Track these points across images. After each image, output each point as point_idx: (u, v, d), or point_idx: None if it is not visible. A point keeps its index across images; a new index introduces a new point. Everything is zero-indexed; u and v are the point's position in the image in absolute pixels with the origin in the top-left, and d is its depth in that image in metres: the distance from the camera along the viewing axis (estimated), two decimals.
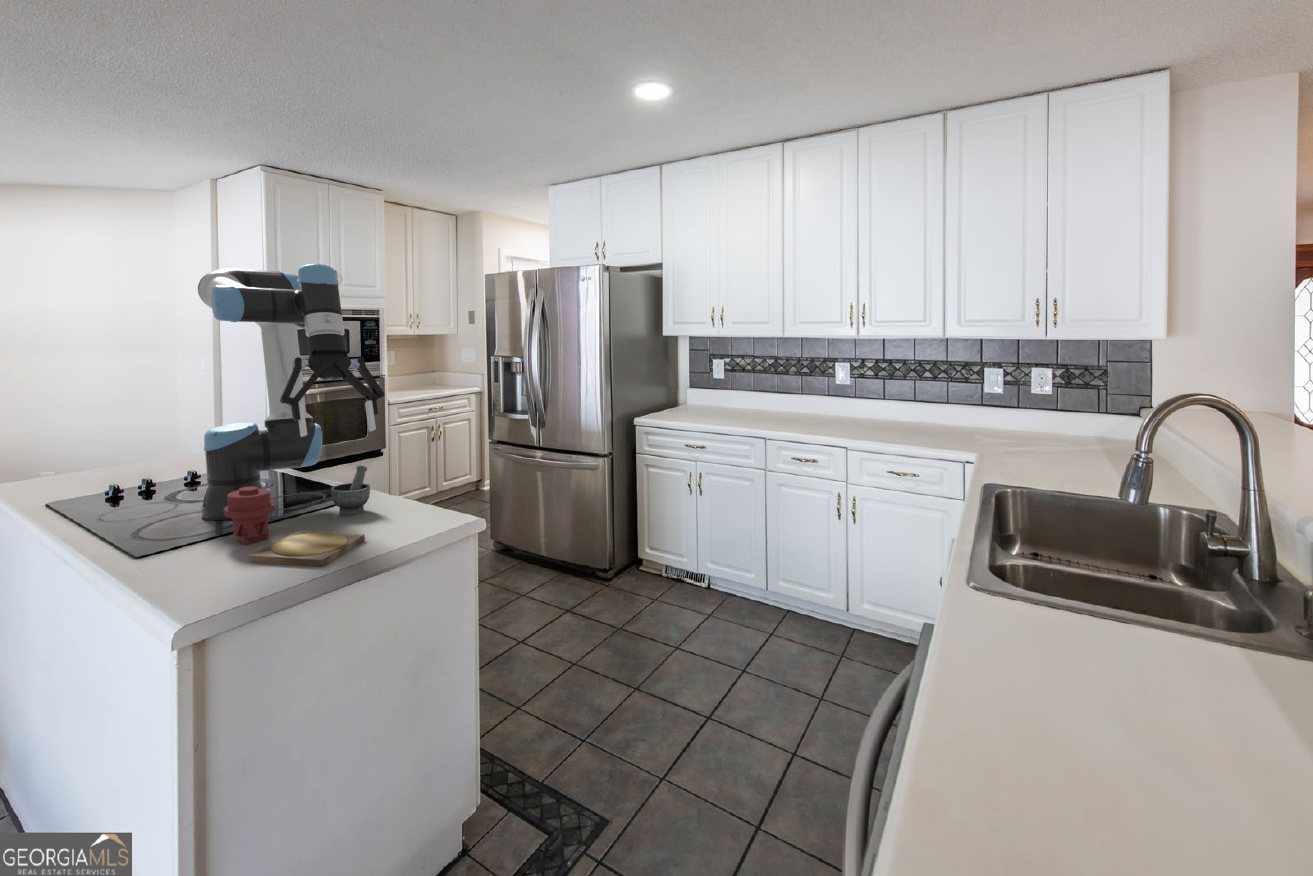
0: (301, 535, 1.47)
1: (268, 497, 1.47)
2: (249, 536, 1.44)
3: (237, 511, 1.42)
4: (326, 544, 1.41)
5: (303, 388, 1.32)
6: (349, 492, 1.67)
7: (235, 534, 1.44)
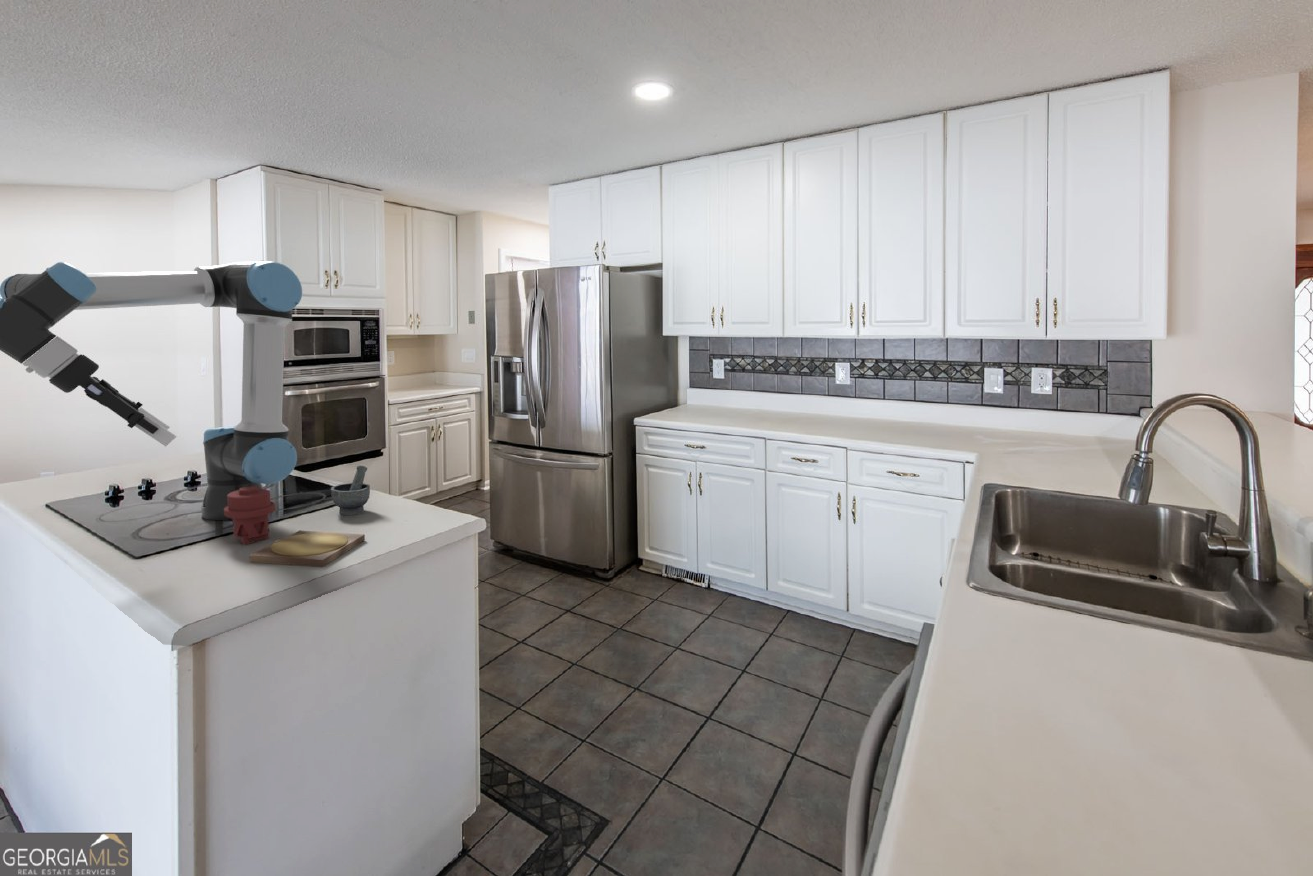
0: (301, 535, 1.47)
1: (268, 497, 1.47)
2: (249, 536, 1.44)
3: (237, 511, 1.42)
4: (326, 544, 1.41)
5: None
6: (349, 492, 1.67)
7: (235, 534, 1.44)
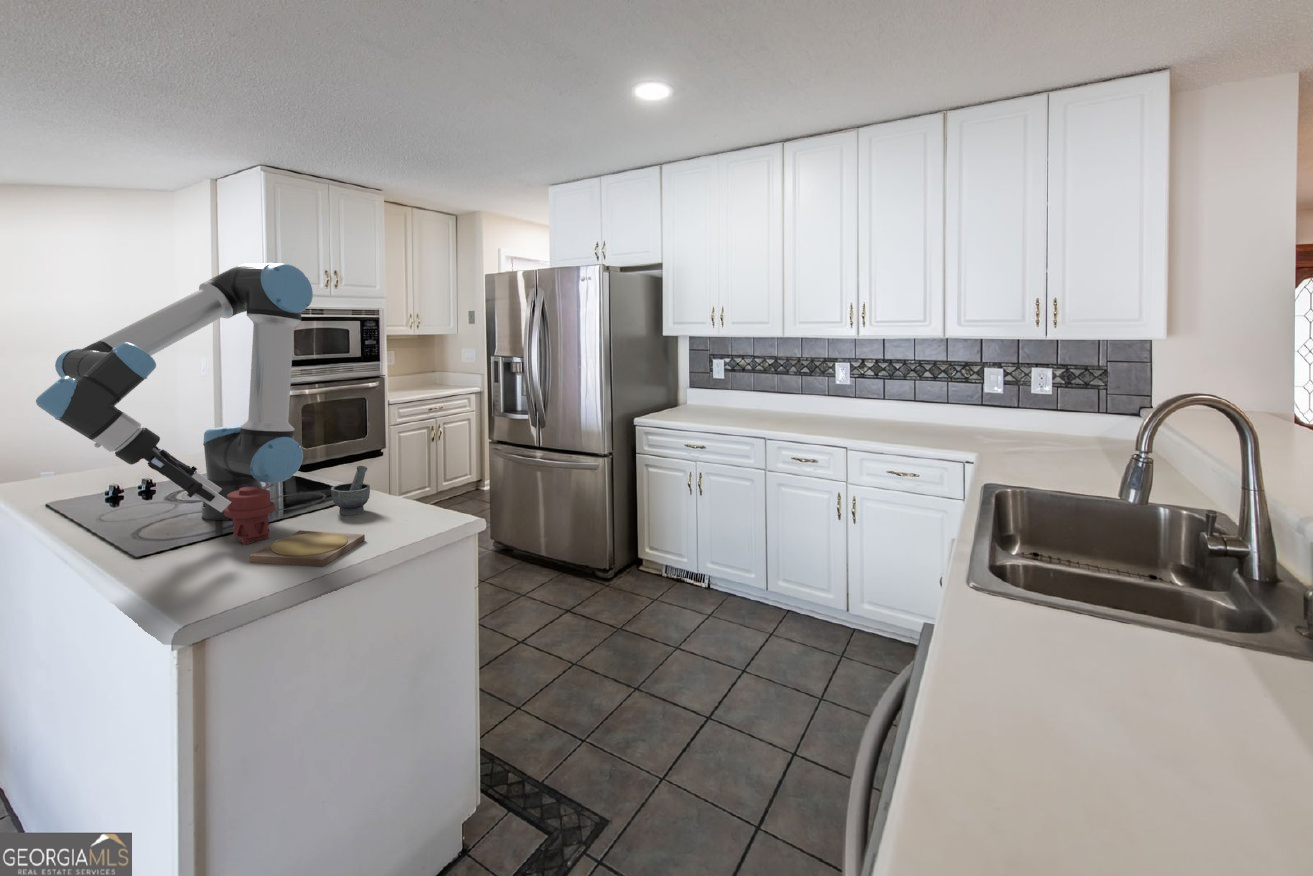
0: (301, 535, 1.47)
1: (268, 497, 1.47)
2: (249, 536, 1.44)
3: (237, 511, 1.42)
4: (326, 544, 1.41)
5: None
6: (349, 492, 1.67)
7: (235, 534, 1.44)
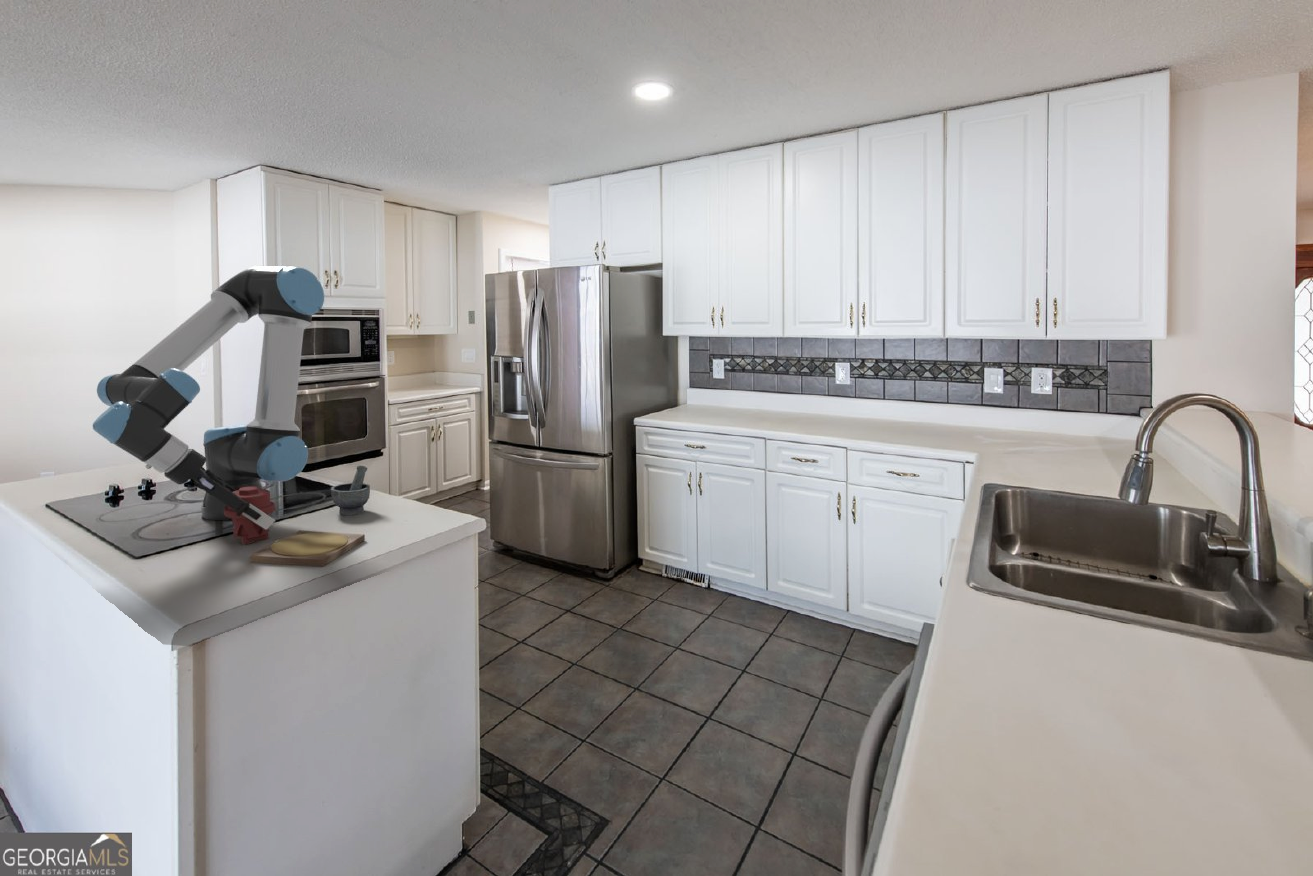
0: (301, 535, 1.47)
1: (268, 497, 1.47)
2: (249, 536, 1.44)
3: None
4: (326, 544, 1.41)
5: None
6: (349, 492, 1.67)
7: (235, 534, 1.44)
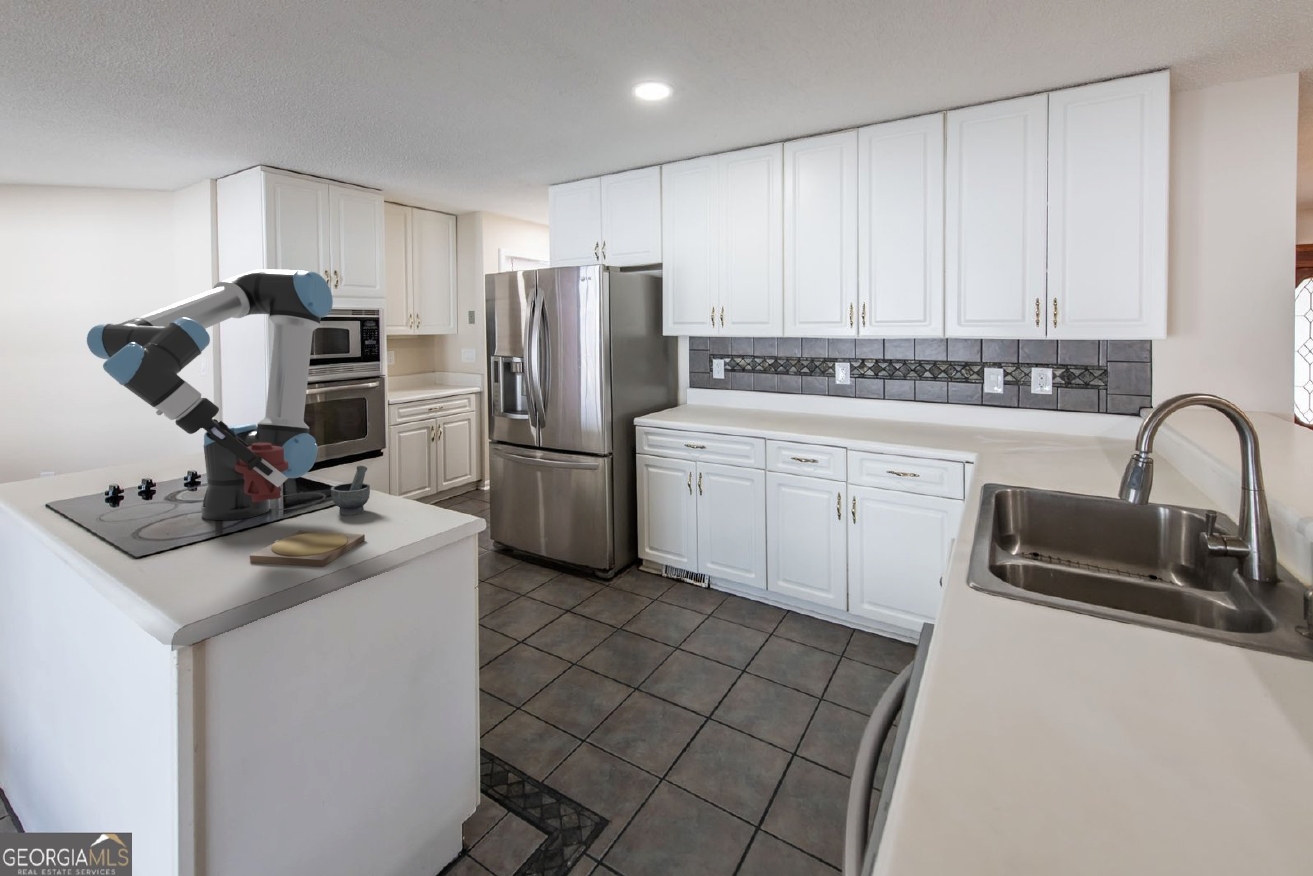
0: (301, 535, 1.47)
1: (281, 454, 1.40)
2: (260, 493, 1.37)
3: (248, 466, 1.35)
4: (326, 544, 1.41)
5: None
6: (349, 492, 1.67)
7: (245, 491, 1.37)
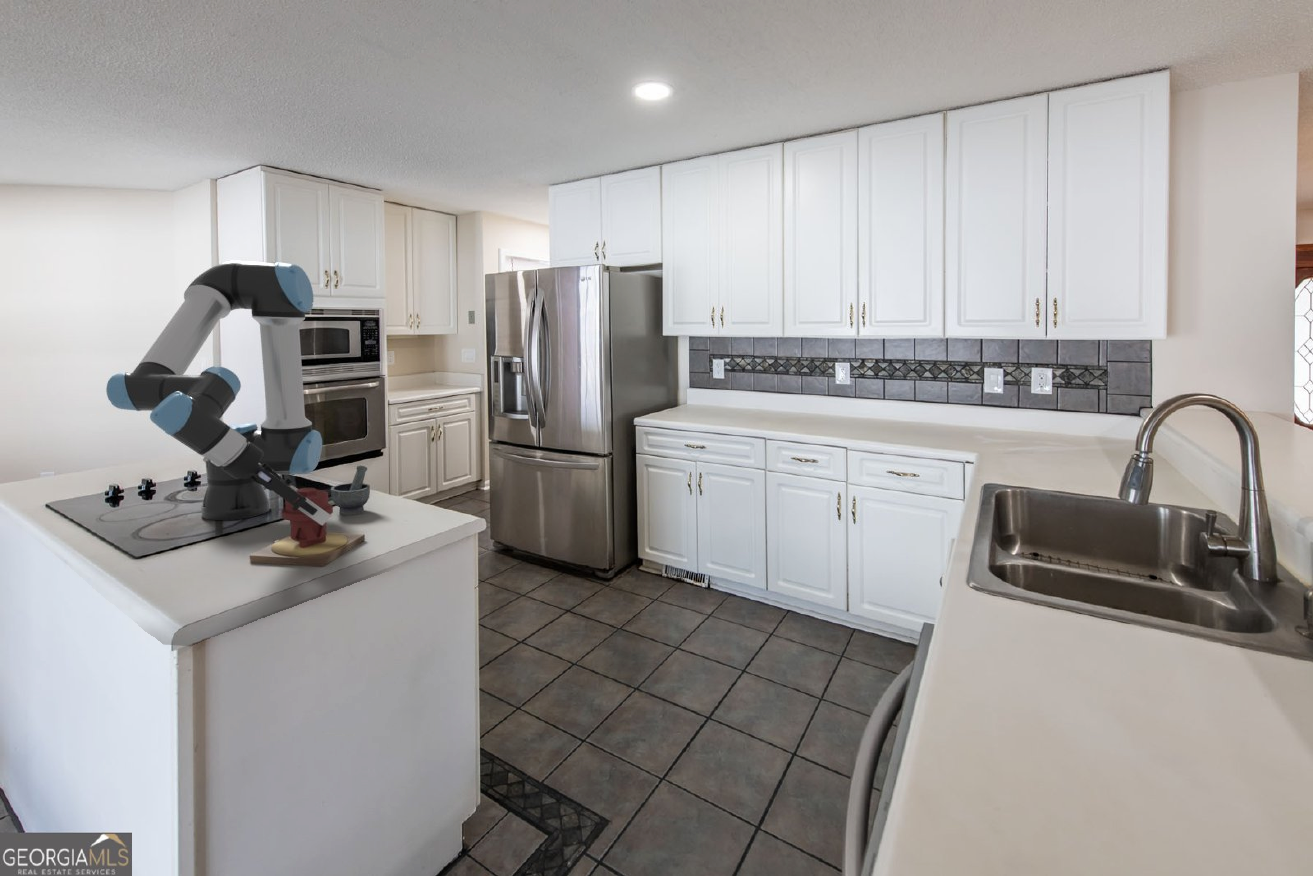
0: None
1: (326, 499, 1.41)
2: (307, 539, 1.39)
3: (296, 513, 1.36)
4: (326, 544, 1.41)
5: None
6: (349, 492, 1.67)
7: (293, 537, 1.39)
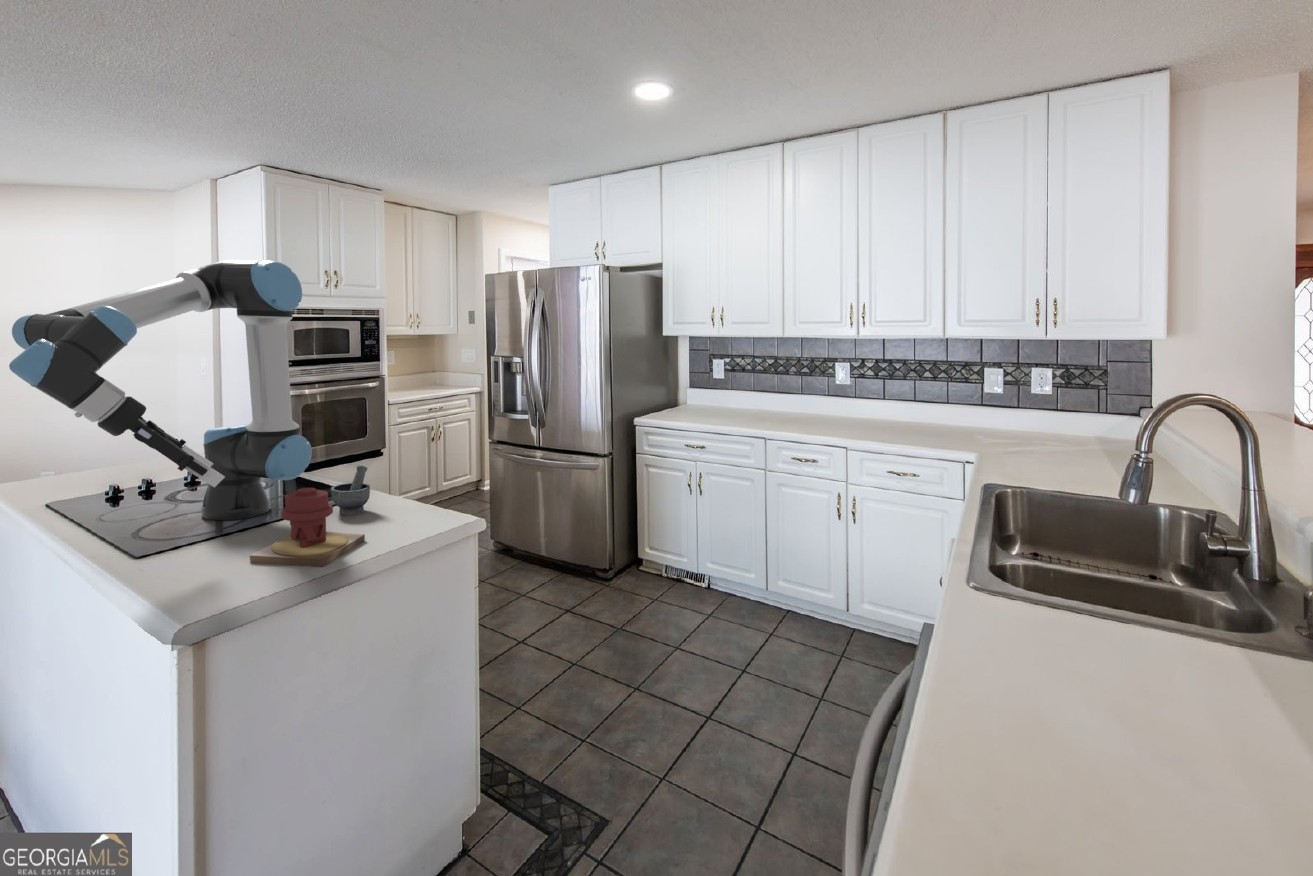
0: None
1: (326, 499, 1.41)
2: (307, 539, 1.39)
3: (296, 513, 1.36)
4: (326, 544, 1.41)
5: None
6: (349, 492, 1.67)
7: (293, 537, 1.39)
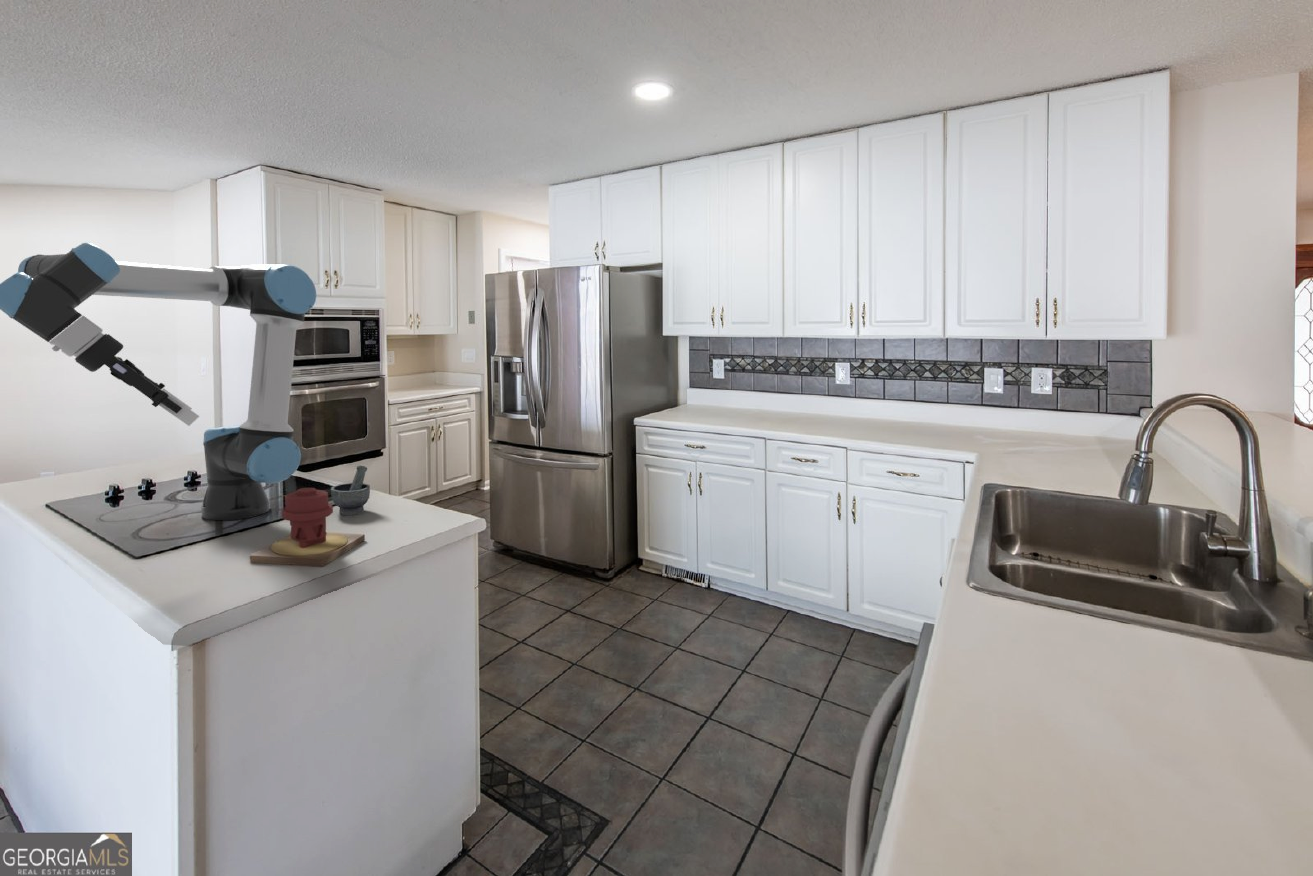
0: None
1: (326, 499, 1.41)
2: (308, 539, 1.39)
3: (296, 513, 1.36)
4: (326, 544, 1.41)
5: None
6: (349, 492, 1.67)
7: (293, 537, 1.39)
